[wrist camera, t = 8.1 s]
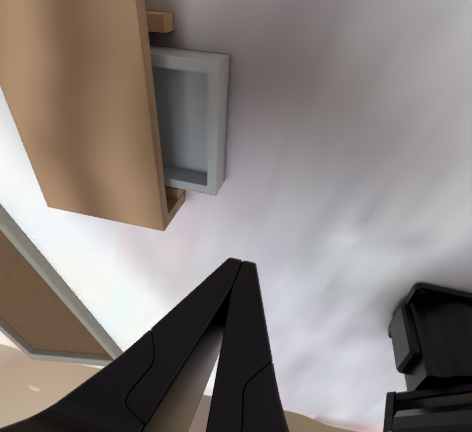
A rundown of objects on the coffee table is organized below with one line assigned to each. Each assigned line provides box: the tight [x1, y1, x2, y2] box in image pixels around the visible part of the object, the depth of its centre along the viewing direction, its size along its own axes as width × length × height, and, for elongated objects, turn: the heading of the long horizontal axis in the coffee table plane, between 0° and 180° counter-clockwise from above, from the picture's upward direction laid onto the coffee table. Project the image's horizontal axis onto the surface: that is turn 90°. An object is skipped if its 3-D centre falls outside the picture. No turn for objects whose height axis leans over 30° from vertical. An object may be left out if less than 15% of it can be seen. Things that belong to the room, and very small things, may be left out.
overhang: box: [0, 0, 185, 231], centre depth 19 cm, size 9×13×4 cm
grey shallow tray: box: [150, 45, 230, 196], centre depth 20 cm, size 10×8×2 cm
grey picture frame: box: [0, 204, 123, 366], centre depth 39 cm, size 19×2×30 cm
